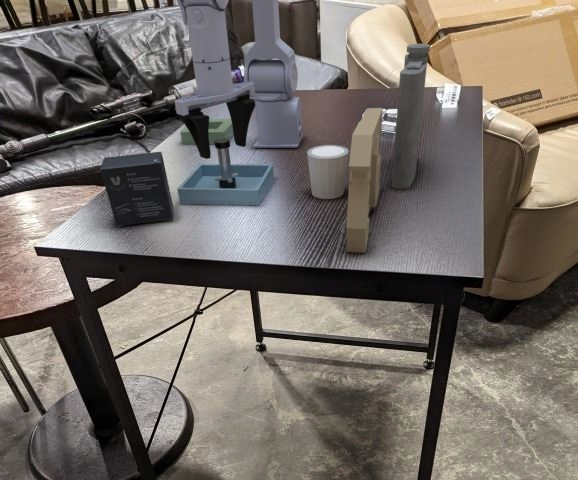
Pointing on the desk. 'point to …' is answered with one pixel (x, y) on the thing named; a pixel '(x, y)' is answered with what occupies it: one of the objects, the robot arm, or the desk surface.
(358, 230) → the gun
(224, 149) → the silver black capped cylinder
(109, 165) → the box
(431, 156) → the desk surface
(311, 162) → the white cup
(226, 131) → the green square holder
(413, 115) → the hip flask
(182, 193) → the tray
